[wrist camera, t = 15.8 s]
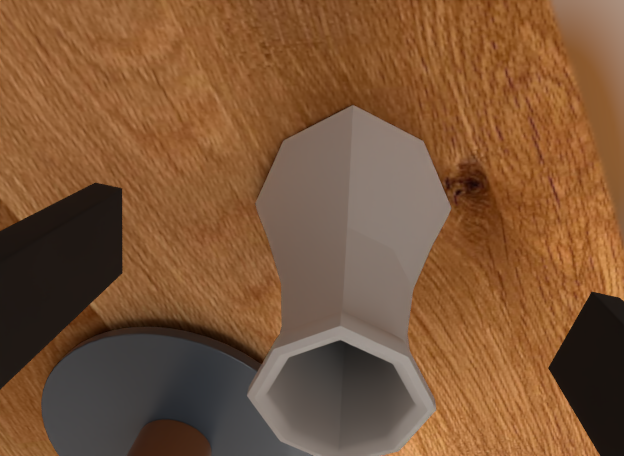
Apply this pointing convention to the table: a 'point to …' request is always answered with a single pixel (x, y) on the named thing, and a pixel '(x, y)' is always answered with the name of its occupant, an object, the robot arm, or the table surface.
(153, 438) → the lid
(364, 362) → the flask
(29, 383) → the table surface
